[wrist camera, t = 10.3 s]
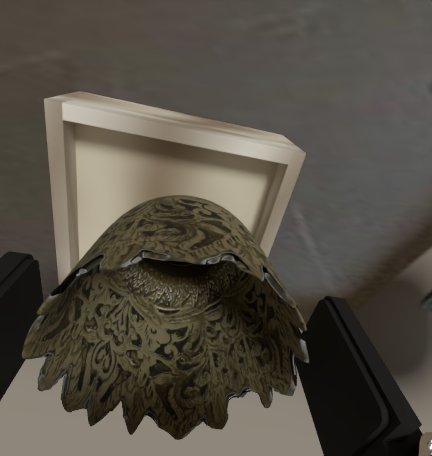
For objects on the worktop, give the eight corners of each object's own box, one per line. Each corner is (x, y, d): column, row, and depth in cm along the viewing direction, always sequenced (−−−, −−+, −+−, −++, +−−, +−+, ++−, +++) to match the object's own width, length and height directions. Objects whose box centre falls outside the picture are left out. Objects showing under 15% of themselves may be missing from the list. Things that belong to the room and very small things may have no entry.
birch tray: (281, 135, 15) (306, 153, 12) (235, 280, 20) (243, 321, 16) (80, 91, 13) (43, 98, 10) (83, 262, 18) (60, 304, 15)
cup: (166, 300, 17) (148, 462, 10) (75, 207, 13) (-50, 357, 6) (277, 242, 15) (347, 387, 8) (206, 121, 12) (225, 198, 5)
